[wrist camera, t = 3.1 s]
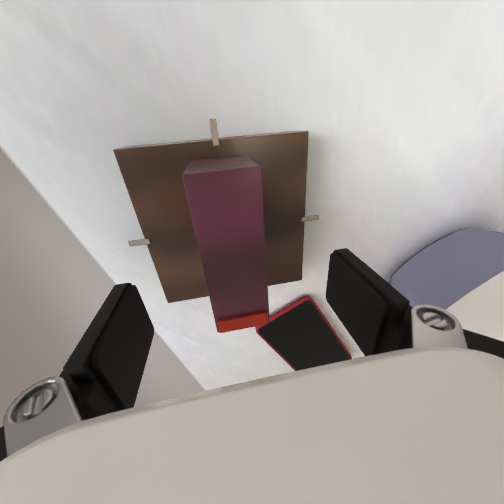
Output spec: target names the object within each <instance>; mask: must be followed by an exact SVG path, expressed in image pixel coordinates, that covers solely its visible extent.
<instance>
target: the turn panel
mask: <svg viewBox="0 0 504 504" xmlns="http://www.w3.org/2000/svg"><path fill="white" fill-rule="evenodd" d="M210 126H211V133H212V139H205V140H194V141H184V142H173V143H163V144H152V145H141V146H131V147H124V148H119V149H114V150H113V151H114V154H115V156H116V159H117V162H118V165H119V168H120V170H121V173H122V176H123V179H124V182H125V184H126V187H127V190H128V193H129V196H130V198H131V201H132V204H133V207H134V209H135V212H136V215H137V218H138V221H139V223H140V226H141V229H142V232H143V235H144V237H145V239H141V240H133V241H129V242H128V243H129V245H130V246H136V245H143V244H147V246H148V248H149V251H150V254H151V257H152V260H153V262H154V265H155V268H156V271H157V274H158V276H159V279H160V282H161V285H162V288H163V290H164V293H165V296H166V299H167V301H168V303H171V302H177V301H182V300H188V299H194V298H200V297H206V296H209V292H208V287H207V283H206V279H205V274H204V270H203V265H202V261H201V257H200V252H199V248H198V244H197V239H196V235H195V230H194V226H193V222H192V217H191V213H190V208H189V204H188V200H187V195H186V191H185V187H184V182H183V178H182V174H183V173H184V171H185V169H186V167H187V166H188V164H189V162H190V161H191V160H201V159H211V158H220V157H230V156H240V155H246V156H247V157H248V158H250V159H251V160H253V161H254V162H256V163H257V164H258V165H260V166H261V175H262V193H263V212H264V231H265V249H266V268H267V286H269V285H275V284H281V283H287V282H293V281H298V280H302V263H303V241H304V222H305V221H312V220H319V215H313V216H305V196H306V174H307V152H308V131H290V132H279V133H269V134H258V135H247V136H237V137H226V138H218V132H217V125H216V119H210Z"/></svg>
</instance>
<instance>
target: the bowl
mask: <svg viewBox="0 0 504 504" xmlns="http://www.w3.org/2000/svg"><path fill="white" fill-rule="evenodd" d="M390 285H391V286H392V287H394V288H395V289H396V290H397V291H398V292H400V293H401V294H402V295H403V296H404V297H406V298H407V299H408V300H409V301H410V302H409V305H411V306H412V307H415V306H417V305H432V306H436V307H439V308H442V309H444V310H446V311H448V312H449V313H451V314H452V315H454V316H455V317H456V318H457V319H458V320H459V322H460V324H461V326H462V329H465V330H468V331H472V332H475V333H478V334H481V335H485V336H488V337H491V338H494V339H497V340H501V341H504V233H501V232H494V231H487V230H481V229H474V228H465V229H462V230H459V231H457V232H455V233H453V234H451V235H448V236H446V237H444V238H442V239H440V240H438V241H436V242H435V243H433V244H431V245H430V246H428V247H426V248H425V249H423V250H422V251H421V252H419V253H418V254H416V255H415V256H414V257H412V258H411V259H410V260H409V261H408V262H406V263H405V264H404V265H403V266H402V267H400V268H399V269H398V270H397V271H396V272H395V274H394V275H393V276H392V277H391V280H390Z"/></svg>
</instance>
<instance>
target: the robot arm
mask: <svg viewBox="0 0 504 504" xmlns="http://www.w3.org/2000/svg"><path fill="white" fill-rule="evenodd" d="M326 299H327V302H328V303H329V305H330V306H331V308H332V309H333V311H334V312H335V313H336V315H337V316H338V318H339V319H340V321H341V322H342V323H343V325H344V326H345V328H346V329H347V331H348V332H349V333H350V335H351V336H352V338H353V339H354V341H355V342H356V343H357V345H358V346H359V348H360V349H361V351H362V352H363V353H364V355H365V357H360V358H355V359H350V360H346V361H341V362H336V363H332V364H327V365H322V366H317V367H313V368H308V369H303V370H299V371H294V372H290V373H285V374H280V375H276V376H271V377H267V378H262V379H257V380H253V381H248V382H244V383H239V384H235V385H230V386H225V387H221V388H216V389H212V390H208V391H203V392H199V393H194V394H190V395H185V396H181V397H177V398H172V399H167V400H163V401H158V402H154V403H150V404H146V405H142V406H138V407H134V404H135V400H136V397H137V393H138V389H139V386H140V382H141V379H142V375H143V371H144V368H145V364H146V361H147V357H148V353H149V350H150V346H151V342H152V339H153V335H154V327H153V325H152V322H151V320H150V318H149V315H148V313H147V311H146V308H145V306H144V304H143V301H142V299H141V296H140V294H139V292H138V289H137V287H136V286H135V285H132V284H131V283H125V284H118V285H115V286H114V287H113V289H112V290H111V292H110V294H109V295H108V297H107V298H106V300H105V302H104V303H103V305H102V307H101V308H100V310H99V311H98V313H97V314H96V316H95V318H94V319H93V321H92V322H91V324H90V326H89V327H88V329H87V330H86V332H85V334H84V335H83V337H82V338H81V340H80V342H79V343H78V345H77V346H76V348H75V350H74V351H73V353H72V354H71V356H70V358H69V359H68V361H67V362H66V364H65V366H64V367H63V369H64V370H63V371H62V373H61V374H60V376H59V377H50V378H47V379H44V380H41V381H39V382H38V383H36V384H34V385H32V386H31V387H29V388H28V389H27V390H25V391H24V392H23V393H21V394H20V395H19V396H18V397H17V398H16V399H15V400H14V401H13V403H12V404H11V405H10V406H9V408H8V409H7V412H6V413H5V416H4V421H3V424H4V426H2V427H1V428H0V504H504V341H501V340H497V339H494V338H491V337H488V336H485V335H481V334H478V333H475V332H472V331H468V330H465V329H462V326H461V324H460V322H459V320H458V319H457V318H456V317H455V316H454V315H452V314H451V313H449V312H448V311H446V310H444V309H442V308H439V307H436V306H432V305H417V306H415V307H412V306H411V305H409V302H410V301H409V300H408V299H407V298H406V297H404V296H403V295H402V294H401V293H400V292H398V291H397V290H396V289H395V288H394V287H392V286H391V285H390V284H389V283H388V282H386V281H385V280H384V279H383V278H382V277H381V276H379V275H378V274H377V273H376V272H375V271H373V270H372V269H371V268H370V267H369V266H367V265H366V264H365V263H364V262H363V261H361V260H360V259H359V258H358V257H357V256H355V255H354V254H353V253H352V252H351V251H350V250H348V249H347V248H345V249H338V250H334V252H333V253H332V254H331V255H330V262H329V271H328V280H327V289H326Z"/></svg>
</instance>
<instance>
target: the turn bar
mask: <svg viewBox="0 0 504 504" xmlns="http://www.w3.org/2000/svg"><path fill="white" fill-rule="evenodd" d="M182 178H183V182H184V187H185V191H186V195H187V200H188V204H189V208H190V213H191V217H192V222H193V226H194V230H195V235H196V239H197V244H198V248H199V252H200V257H201V261H202V265H203V270H204V274H205V279H206V283H207V287H208V292H209V296H210V301H211V305H212V309H213V314H214V318H215V323H216V327H217V331H218V332H220V333H223V332H228V331H233V330H238V329H244V328H249V327H254V326H259V325H264V324H268V323H269V305H268V287H267V268H266V249H265V231H264V212H263V193H262V175H261V166H260V165H258V164H257V163H256V162H254V161H253V160H251V159H250V158H248V157H247V156H246V155H240V156H230V157H220V158H211V159H201V160H191V161H190V162H189V164H188V166H187V167H186V169H185V171H184V173H183V174H182Z"/></svg>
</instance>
